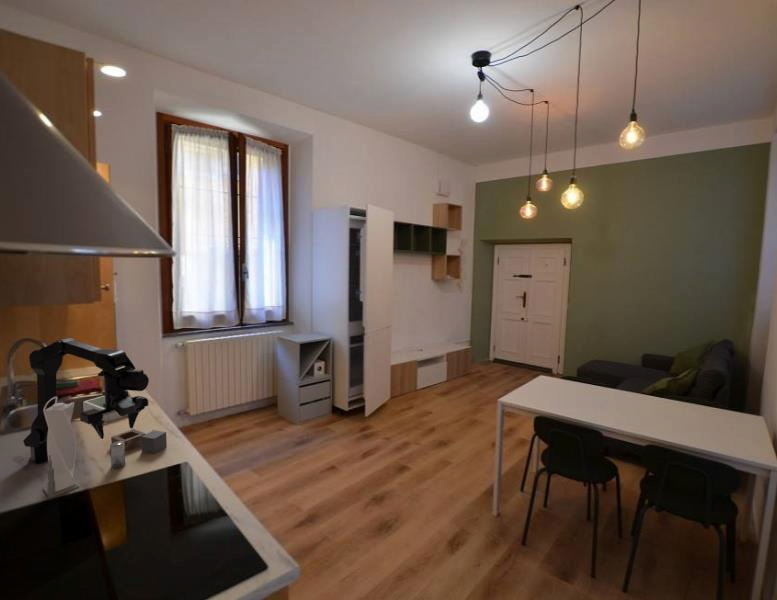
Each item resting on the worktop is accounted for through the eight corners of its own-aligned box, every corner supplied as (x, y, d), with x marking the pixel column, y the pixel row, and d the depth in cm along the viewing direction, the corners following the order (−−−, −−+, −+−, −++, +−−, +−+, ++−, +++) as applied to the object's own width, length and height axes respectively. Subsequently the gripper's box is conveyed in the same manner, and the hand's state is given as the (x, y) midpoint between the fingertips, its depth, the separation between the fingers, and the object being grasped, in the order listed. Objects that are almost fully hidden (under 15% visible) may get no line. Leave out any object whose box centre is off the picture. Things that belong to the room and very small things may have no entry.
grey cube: (154, 454, 141) (154, 438, 140) (141, 452, 142) (141, 436, 141) (166, 447, 146) (166, 432, 146) (154, 445, 148) (153, 430, 147)
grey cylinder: (115, 470, 130) (114, 447, 129) (108, 467, 131) (107, 444, 131) (127, 465, 133) (127, 442, 132) (121, 461, 135) (120, 440, 134)
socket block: (123, 452, 141) (123, 442, 141) (111, 447, 145) (111, 436, 144) (146, 443, 148) (145, 433, 148) (133, 438, 152) (133, 428, 152)
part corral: (107, 421, 166) (106, 410, 166) (83, 412, 175) (82, 401, 175) (140, 411, 178) (140, 400, 178) (116, 402, 188) (116, 392, 187)
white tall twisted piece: (42, 487, 119) (36, 399, 116) (74, 476, 126) (69, 392, 123) (49, 498, 114) (43, 406, 111) (83, 485, 121) (78, 399, 118)
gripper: (96, 402, 118) (99, 450, 119) (157, 385, 134) (158, 428, 136) (77, 395, 123) (80, 442, 124) (138, 379, 139) (140, 421, 141)
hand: (117, 433), depth 131 cm, fingers open, 9 cm apart
